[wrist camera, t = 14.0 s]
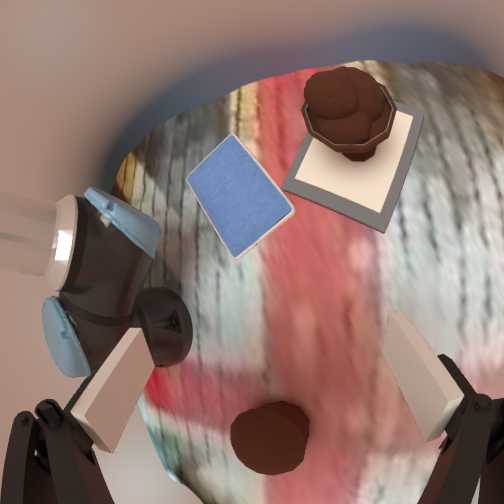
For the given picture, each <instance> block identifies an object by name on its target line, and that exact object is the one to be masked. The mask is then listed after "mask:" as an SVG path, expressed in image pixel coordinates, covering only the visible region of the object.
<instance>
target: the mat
mask: <svg viewBox="0 0 504 504" xmlns="http://www.w3.org/2000/svg"><path fill="white" fill-rule="evenodd" d="M394 103H395V105H396V107H397V111H399V112H402V113H405V114H408V115H410V116H413V120H412V123H411V127H410V130H409V133H408V137H407V140H406V143H405V146H404V149H403V152H402V155H401V158H400V161H399V164H398V167H397V170H396V173H395V176H394V178H393V181H392V184H391V187H390V189H389V192H388V194H387V197H386V200H385V202H384V205H383V207H382V210H381V212H380V214H379V213H377V212H375V211H372V210H370V209H368V208H366V207H363V206H361V205H359V204H356V203H354V202H352V201H349V200H347V199H345V198H342V197H340V196H337V195H335V194H332V193H330V192H327V191H325V190H322V189H320V188H317V187H315V186H312V185H309V184H307V183H304V182H301V181H299V180H296V179H295V176H296V174H297V172H298V170H299V168H300V166H301V163H302V161H303V159H304V157H305V155H306V153H307V150H308V148H309V146H310V144H311V142H312V140H313V136H312V135H310V134H309V132H307V134H306V136H305V139H304V141H303V143H302V145H301V147H300V149H299V151H298V154H297V156H296V158H295V160H294V162H293V164H292V166H291V169H290V171H289V173H288V175H287V177H286V179H285V181H284V184H283V186H282V189H283V190H284V191H286V192H289V193H291V194H294V195H296V196H299V197H301V198H304V199H306V200H309V201H311V202H314V203H316V204H318V205H321V206H323V207H326V208H328V209H330V210H333V211H335V212H337V213H340V214H342V215H344V216H346V217H349V218H351V219H353V220H355V221H358V222H360V223H362V224H364V225H366V226H368V227H371V228H373V229H375V230H377V231H379V232H381V233H383V234H384V233H385V231H386V228H387V226H388V223H389V221H390V218H391V216H392V213H393V211H394V208H395V206H396V203H397V200H398V198H399V195H400V192H401V190H402V187H403V184H404V181H405V178H406V175H407V172H408V169H409V166H410V163H411V160H412V157H413V154H414V150H415V147H416V144H417V140H418V137H419V133H420V130H421V126H422V122H423V118H424V113H425V112H423V111H421V110H418V109H415V108H413V107H410V106H407V105H404V104H401V103H398V102H395V101H394Z"/></svg>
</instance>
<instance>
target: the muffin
mask: <svg viewBox="0 0 504 504" xmlns="http://www.w3.org/2000/svg"><path fill="white" fill-rule="evenodd" d="M308 427H309V419H308V418H307V417H306V416H305V415H304V414H303V412H302V410H301V409H300V407H298V406H294V405H291V404H288V403H286V402H284V401H280V402H277V403H270V404H266V405H264V406H262V407H260V408H257V409H250V410H248V411H246V412H243V413H241V414H238V416H237V417H236V419H235V420H234V422H233V423H232V425H231V437H230V439H231V444H232V447H233V449H234V452H235V454H236V456H237V458H238V459H239V460H240V461H241V462H242V463H243V464H244V465H245V466H246V467H248V468H249V469H251V470H253V471H255V472H257V473H260V474H267V475H277V474H281V473H285V472H289V471H292V470H294V469H295V468H296V467H297V466H298V465H299V464H300V463H301V462H302V461H303V459H304V454H305V449H306V444H307V440H308V436H309V428H308Z"/></svg>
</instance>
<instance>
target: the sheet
mask: <svg viewBox="0 0 504 504" xmlns="http://www.w3.org/2000/svg"><path fill="white" fill-rule="evenodd" d="M412 120H413V116H410V115H408V114H405V113H402V112H399V111H396V115H395V118H394V122H393V126H392V129H391V133H390V135H389V138H388V139H386V140H384V141H383V142H381V143H380V144H378V145H377V148H376V151H375V154H374V156H373V157H371V158H369V159H368V160H366V161H365V162H354V161H351V160H349V159H348V158H346V157H345V156H344V155H342V153H339V152H335V151H334V150H332V149H331V148H329V147H328V146H326V145H325V144H323V143H322V142H320V141H319V140H317V139H315V138H314V137H313V140H312V142H311V144H310V146H309V148H308V150H307V153H306V155H305V157H304V159H303V161H302V163H301V166H300V168H299V170H298V172H297V174H296V176H295V179H296V180H299V181H301V182H304V183H307V184H309V185H312V186H315V187H317V188H320V189H322V190H325V191H327V192H330V193H332V194H335V195H337V196H340V197H342V198H345V199H347V200H349V201H352V202H354V203H356V204H359V205H361V206H363V207H366V208H368V209H370V210H372V211H375V212H377V213H379V214H380V212H381V210H382V207H383V205H384V202H385V200H386V197H387V194H388V192H389V189H390V187H391V184H392V181H393V178H394V176H395V173H396V170H397V167H398V164H399V161H400V158H401V155H402V152H403V149H404V146H405V143H406V140H407V137H408V133H409V130H410V127H411V123H412Z"/></svg>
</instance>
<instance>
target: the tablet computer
mask: <svg viewBox="0 0 504 504" xmlns="http://www.w3.org/2000/svg"><path fill="white" fill-rule="evenodd" d="M186 181H187V183H188V185H189V186H190V188H191V190H192V192H193V193H194V195H195V197H196V198H197V200H198V202H199V204H200V205H201V207H202V209H203V210H204V212H205V214H206V215H207V217H208V219H209V220H210V222H211V224H212V225H213V227H214V229H215V231H216V233H217V234H218V236H219V237H220V239H221V241H222V242H223V244H224V246H225V247H226V249H227V250H228V252H229V254H230V255H231V257H232V258H233V259H234V260H239V259H240V258H242V257H243V256H244V255H245V254H246V253H247V252H249V251H250V250H251V249H253V248H254V247H255V246H256V245H257V244H259V243H260V242H261V241H262V240H264V239H265V238H266V237H267V236H268V235H270V234H271V233H272V232H273V231H275V230H276V229H277V228H278V227H279V226H281V225H282V224H283V223H284V222H286V221H287V220H288V219H289V218H291V217H292V216H293V215H294V214H295V212H296V208H295V206H294V205H293V204H292V202H291V201H290V200H289V199H288V197H287V196H286V195H285V194H284V192H283V191H282V190H281V189H280V187H279V186H278V185H277V184H276V182H275V181H274V180H273V179H272V177H271V176H270V175H269V174H268V172H267V171H266V170H265V169H264V167H263V166H262V165H261V164H260V163H259V161H258V160H257V159H256V158H255V157H254V155H253V154H252V153H251V152H250V151H249V150H248V148H247V147H246V146H245V145H244V144H243V143H242V141H241V140H240V139H239V138H238V137H237V136H236V135H235V134H231V135H229V136H228V137H227V138H226V139H225V140H224V141H223V142H221V143H220V144H219V145H218V146H217V147H216V148H215V149H214V150H213V151H212V152H211V153H210V154H209V155H208V156H207V157H206V158H205V159H204V160H203V161H202V162H201V163H200V164H199V165H198V166H197V167H196V168H195V169H194V170H193V171H192V172H191V173H190V174H189V175H188V176H187V178H186Z"/></svg>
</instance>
